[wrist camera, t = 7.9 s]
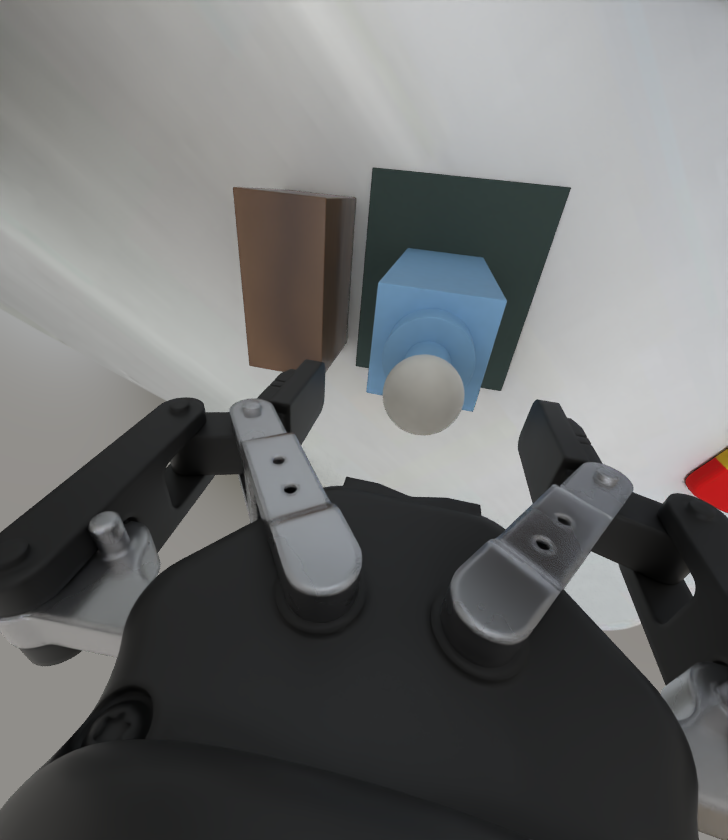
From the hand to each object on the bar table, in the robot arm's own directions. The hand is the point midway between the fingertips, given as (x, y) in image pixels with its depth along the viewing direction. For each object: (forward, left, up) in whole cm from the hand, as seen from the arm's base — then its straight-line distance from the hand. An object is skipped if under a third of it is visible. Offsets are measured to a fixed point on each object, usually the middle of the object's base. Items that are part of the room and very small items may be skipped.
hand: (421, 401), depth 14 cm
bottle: (-4, 0, -18) cm, 19 cm away
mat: (+1, 0, -20) cm, 20 cm away
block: (-10, 0, -20) cm, 22 cm away
